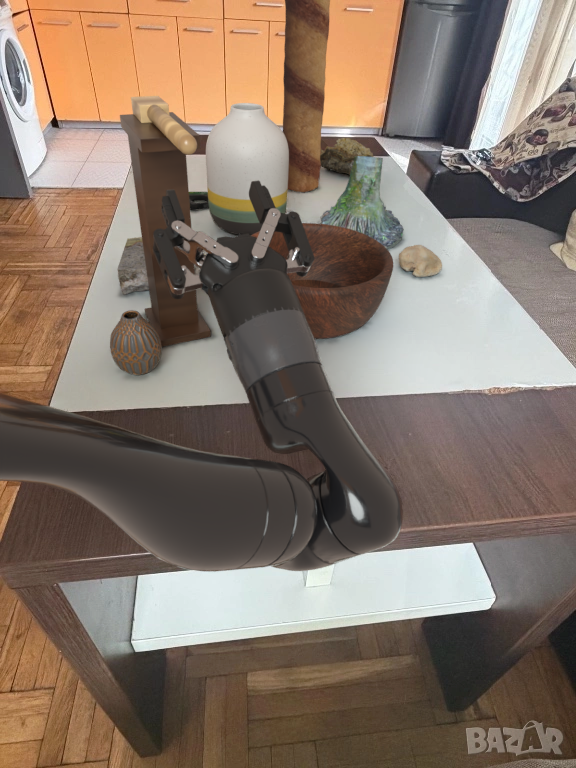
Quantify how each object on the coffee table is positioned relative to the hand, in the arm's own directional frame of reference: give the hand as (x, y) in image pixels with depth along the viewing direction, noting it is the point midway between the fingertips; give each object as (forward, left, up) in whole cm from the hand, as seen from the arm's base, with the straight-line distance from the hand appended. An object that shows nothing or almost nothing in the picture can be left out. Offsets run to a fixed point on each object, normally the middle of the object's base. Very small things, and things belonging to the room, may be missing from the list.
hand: (212, 190), depth 51 cm
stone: (+38, +40, -29) cm, 62 cm away
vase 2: (+5, +61, -29) cm, 67 cm away
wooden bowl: (+15, +26, -29) cm, 41 cm away
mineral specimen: (+34, +99, -29) cm, 108 cm away
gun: (-11, +74, -29) cm, 80 cm away
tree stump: (+30, +59, -29) cm, 72 cm away
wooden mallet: (-6, +17, +1) cm, 18 cm away
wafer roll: (+19, +88, -29) cm, 94 cm away
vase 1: (-12, +10, -29) cm, 33 cm away
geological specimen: (-13, +37, -29) cm, 48 cm away
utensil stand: (-7, +20, -29) cm, 36 cm away
